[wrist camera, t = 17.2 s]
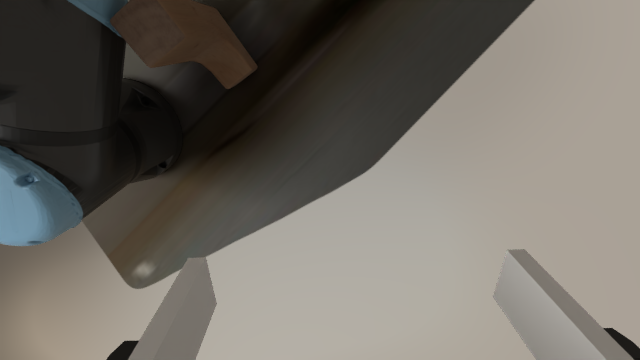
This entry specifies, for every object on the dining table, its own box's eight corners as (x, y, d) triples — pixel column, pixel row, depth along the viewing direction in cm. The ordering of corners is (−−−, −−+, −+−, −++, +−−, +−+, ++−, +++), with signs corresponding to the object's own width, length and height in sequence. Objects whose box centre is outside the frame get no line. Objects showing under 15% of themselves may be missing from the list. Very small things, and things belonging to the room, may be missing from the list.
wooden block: (259, 67, 42) (224, 85, 26) (234, 86, 43) (187, 114, 27) (215, 6, 39) (144, -17, 23) (190, 28, 40) (105, 20, 24)
